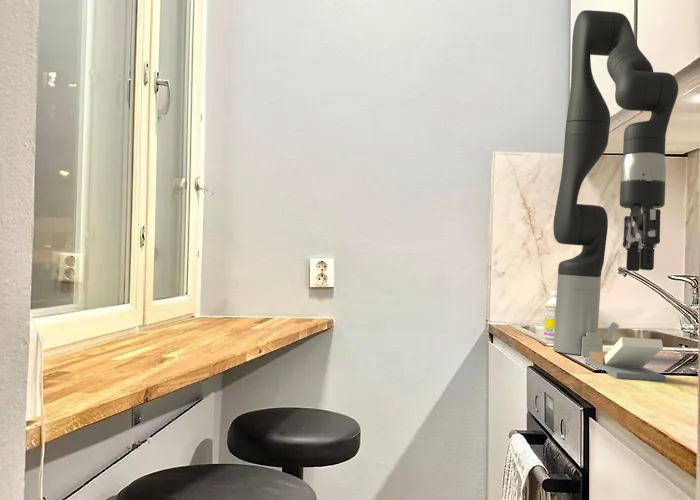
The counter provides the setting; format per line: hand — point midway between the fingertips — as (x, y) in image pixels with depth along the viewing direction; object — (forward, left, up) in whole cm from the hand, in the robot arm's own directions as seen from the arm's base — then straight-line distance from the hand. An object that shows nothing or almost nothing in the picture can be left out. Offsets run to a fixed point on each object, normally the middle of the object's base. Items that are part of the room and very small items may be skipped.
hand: (639, 270), depth 124 cm
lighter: (-23, +2, -19) cm, 30 cm away
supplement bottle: (-58, +3, -19) cm, 62 cm away
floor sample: (-5, 0, -19) cm, 20 cm away
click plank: (0, 0, -16) cm, 16 cm away
